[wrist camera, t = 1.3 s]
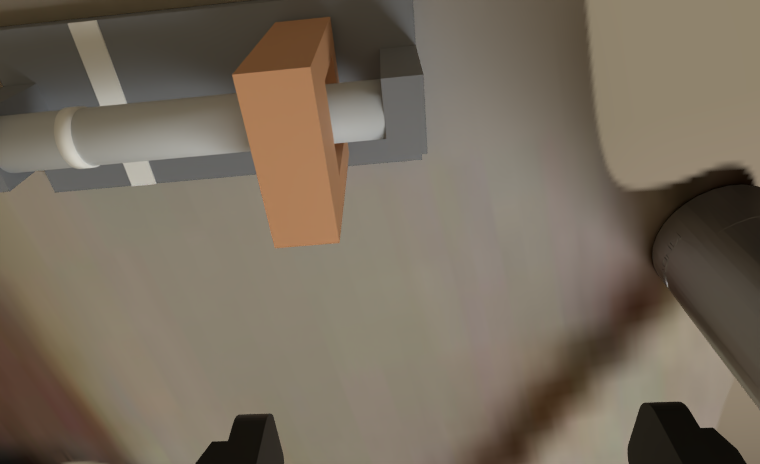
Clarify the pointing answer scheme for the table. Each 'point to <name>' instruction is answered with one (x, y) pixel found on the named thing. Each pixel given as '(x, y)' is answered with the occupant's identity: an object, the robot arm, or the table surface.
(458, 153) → the table surface
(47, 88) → the pipe rail
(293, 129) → the collar
